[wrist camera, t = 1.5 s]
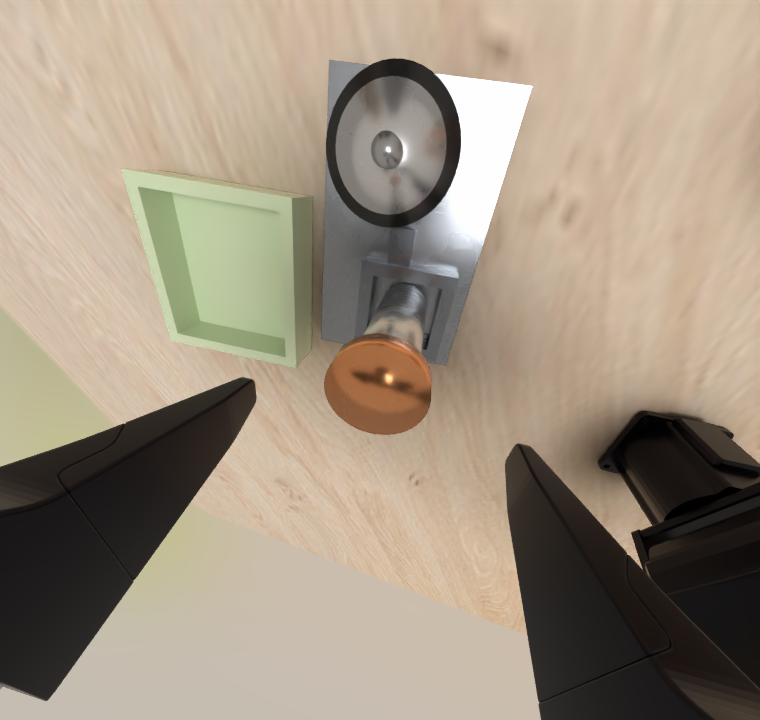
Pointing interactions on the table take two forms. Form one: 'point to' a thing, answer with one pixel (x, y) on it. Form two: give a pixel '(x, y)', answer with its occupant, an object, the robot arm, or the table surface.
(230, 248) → the tray
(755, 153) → the table surface
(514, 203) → the table surface
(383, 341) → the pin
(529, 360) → the table surface
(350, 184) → the tensioner
